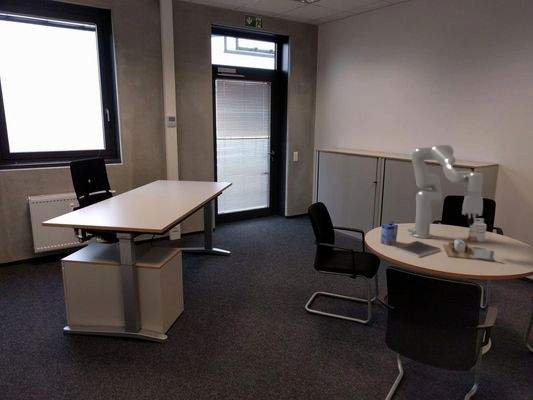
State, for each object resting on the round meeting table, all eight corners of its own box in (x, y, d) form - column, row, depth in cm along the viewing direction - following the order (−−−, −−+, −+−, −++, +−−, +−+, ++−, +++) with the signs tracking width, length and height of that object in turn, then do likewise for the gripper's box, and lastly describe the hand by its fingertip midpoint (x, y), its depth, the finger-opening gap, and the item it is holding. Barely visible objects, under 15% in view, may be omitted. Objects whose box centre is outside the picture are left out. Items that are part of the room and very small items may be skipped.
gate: (474, 258, 223) (475, 250, 222) (473, 257, 225) (474, 249, 224) (492, 260, 221) (493, 251, 220) (491, 259, 223) (493, 250, 222)
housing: (448, 256, 228) (448, 249, 227) (442, 245, 248) (443, 238, 247) (494, 261, 221) (495, 253, 220) (484, 249, 242) (485, 242, 241)
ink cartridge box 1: (386, 245, 248) (388, 223, 245) (379, 242, 252) (381, 221, 249) (396, 242, 253) (398, 221, 250) (390, 240, 257) (391, 219, 254)
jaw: (456, 251, 235) (457, 242, 234) (453, 247, 241) (454, 238, 240) (464, 252, 234) (465, 242, 233) (461, 248, 240) (462, 239, 239)
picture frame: (416, 244, 252) (394, 250, 240) (417, 240, 251) (395, 246, 240) (440, 251, 239) (418, 258, 227) (440, 247, 238) (418, 254, 226)
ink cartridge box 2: (471, 241, 257) (473, 219, 254) (468, 239, 262) (470, 217, 259) (484, 241, 256) (487, 220, 253) (481, 239, 261) (484, 218, 258)
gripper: (460, 194, 226) (457, 225, 229) (489, 195, 221) (486, 227, 225) (458, 192, 233) (455, 222, 236) (486, 193, 228) (483, 224, 232)
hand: (470, 224), depth 231 cm, fingers closed
